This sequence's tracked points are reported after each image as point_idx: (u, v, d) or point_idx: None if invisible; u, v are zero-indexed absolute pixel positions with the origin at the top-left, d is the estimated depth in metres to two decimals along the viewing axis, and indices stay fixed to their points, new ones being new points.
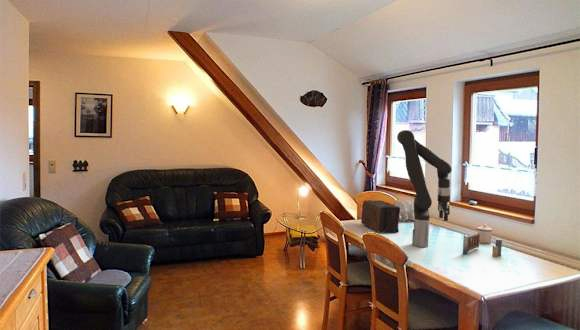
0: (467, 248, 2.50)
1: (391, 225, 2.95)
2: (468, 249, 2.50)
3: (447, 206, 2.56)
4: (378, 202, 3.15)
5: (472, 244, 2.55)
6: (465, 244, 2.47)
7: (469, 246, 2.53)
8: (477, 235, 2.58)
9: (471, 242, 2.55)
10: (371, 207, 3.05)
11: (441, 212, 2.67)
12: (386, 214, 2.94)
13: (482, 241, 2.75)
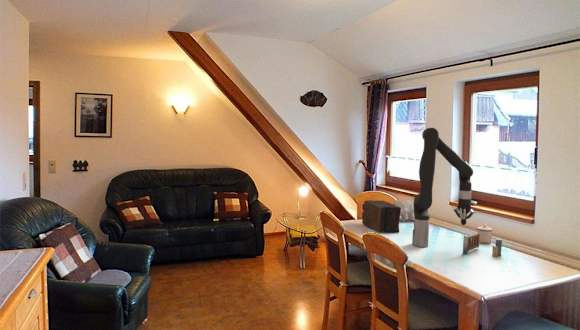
0: (467, 248, 2.50)
1: (392, 225, 2.95)
2: (468, 249, 2.50)
3: (473, 213, 2.56)
4: (379, 202, 3.15)
5: (472, 244, 2.55)
6: (465, 244, 2.47)
7: (469, 246, 2.53)
8: (477, 235, 2.58)
9: (471, 242, 2.55)
10: (372, 207, 3.06)
11: None
12: (387, 214, 2.94)
13: (482, 241, 2.75)
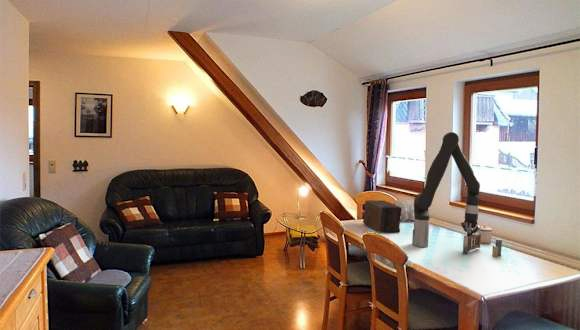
0: (467, 248, 2.50)
1: (392, 225, 2.95)
2: (468, 249, 2.50)
3: (478, 228, 2.53)
4: (380, 202, 3.15)
5: (473, 244, 2.55)
6: (465, 244, 2.47)
7: (469, 246, 2.53)
8: (478, 235, 2.57)
9: (472, 242, 2.55)
10: (373, 207, 3.06)
11: None
12: (387, 214, 2.94)
13: (482, 241, 2.75)
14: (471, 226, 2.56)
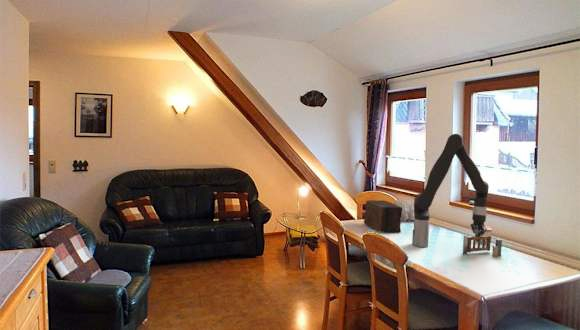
0: (468, 248, 2.49)
1: (393, 225, 2.95)
2: (469, 250, 2.49)
3: (484, 230, 2.49)
4: (381, 202, 3.15)
5: (478, 246, 2.51)
6: (465, 244, 2.47)
7: (473, 247, 2.51)
8: (486, 238, 2.52)
9: None
10: (373, 207, 3.06)
11: None
12: (388, 214, 2.94)
13: None
14: (478, 227, 2.52)
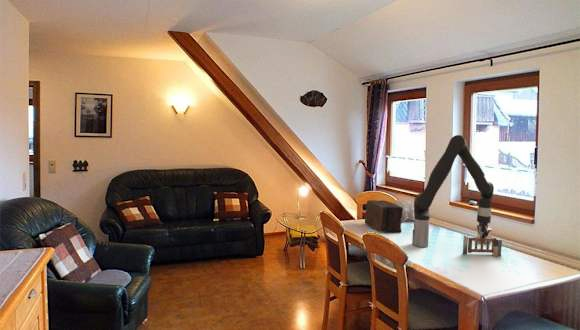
0: (468, 249, 2.48)
1: (394, 225, 2.96)
2: (470, 250, 2.48)
3: (487, 231, 2.45)
4: (381, 202, 3.15)
5: (481, 247, 2.48)
6: (465, 244, 2.47)
7: (475, 248, 2.49)
8: (491, 239, 2.48)
9: None
10: (374, 207, 3.06)
11: None
12: (388, 214, 2.94)
13: None
14: (481, 229, 2.49)
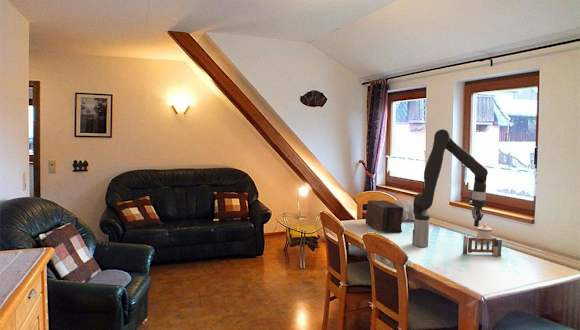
0: (468, 249, 2.48)
1: (394, 225, 2.96)
2: (470, 250, 2.48)
3: (481, 215, 2.50)
4: (382, 202, 3.15)
5: (481, 247, 2.48)
6: (465, 244, 2.47)
7: (475, 248, 2.49)
8: (491, 239, 2.48)
9: None
10: (374, 207, 3.06)
11: None
12: (389, 214, 2.94)
13: None
14: (476, 213, 2.54)
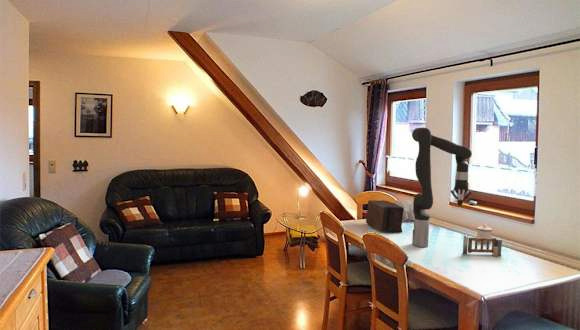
0: (468, 249, 2.48)
1: (394, 225, 2.96)
2: (470, 250, 2.48)
3: None
4: (383, 202, 3.15)
5: (481, 247, 2.48)
6: (465, 244, 2.47)
7: (475, 248, 2.49)
8: (491, 239, 2.48)
9: None
10: (375, 207, 3.06)
11: None
12: (389, 214, 2.94)
13: None
14: (464, 192, 2.64)
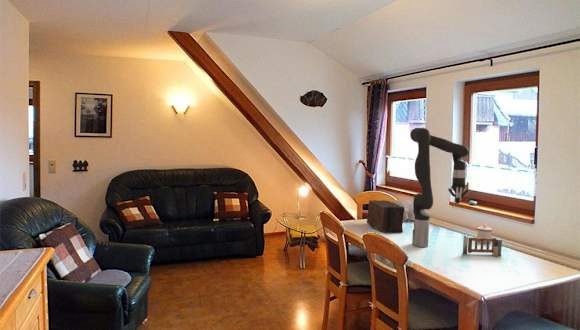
0: (468, 249, 2.48)
1: (395, 225, 2.96)
2: (470, 250, 2.48)
3: None
4: (383, 202, 3.15)
5: (481, 247, 2.48)
6: (465, 244, 2.47)
7: (475, 248, 2.49)
8: (491, 239, 2.48)
9: None
10: (376, 207, 3.06)
11: None
12: (390, 214, 2.94)
13: None
14: (461, 190, 2.66)
